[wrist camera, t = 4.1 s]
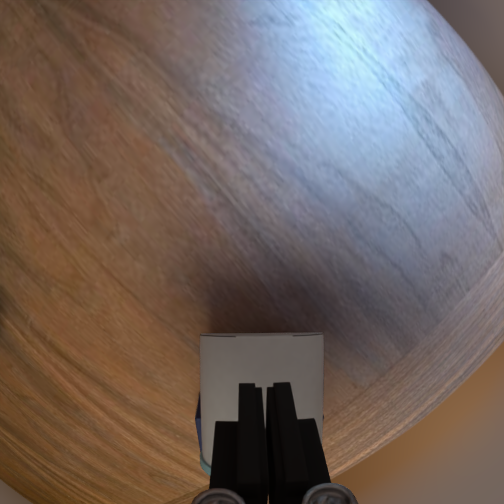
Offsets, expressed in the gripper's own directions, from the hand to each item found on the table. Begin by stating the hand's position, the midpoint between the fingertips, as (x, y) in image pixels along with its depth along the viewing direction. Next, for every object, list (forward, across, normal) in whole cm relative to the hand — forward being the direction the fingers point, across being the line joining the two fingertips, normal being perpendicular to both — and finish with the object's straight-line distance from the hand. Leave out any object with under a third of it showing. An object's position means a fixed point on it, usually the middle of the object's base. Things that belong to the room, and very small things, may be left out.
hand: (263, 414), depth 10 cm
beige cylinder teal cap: (+11, 0, +5) cm, 12 cm away
